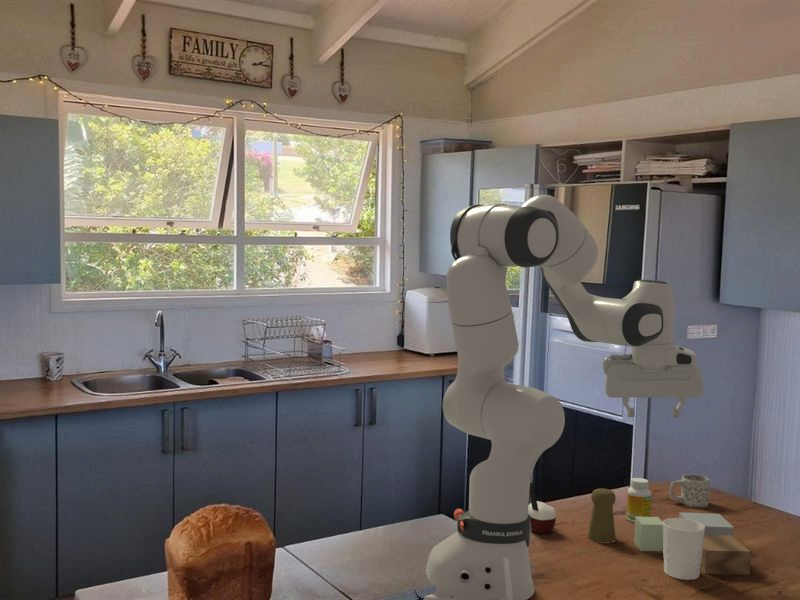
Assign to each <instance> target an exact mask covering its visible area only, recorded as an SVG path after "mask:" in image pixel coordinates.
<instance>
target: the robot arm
mask: <svg viewBox="0 0 800 600" xmlns="http://www.w3.org/2000/svg"><path fill="white" fill-rule="evenodd" d="M449 231H450V232H449V239H450V240H449V241H450V248H451V250H450V251H451V255H452V257H453V260H454V261H453V262H452V263H451V264H450V266H449V267H448V269H447V272H446V295H447V296H446V297H447V304H448V310H449V318H450V322H451V326H452V331H453V336H454V342H455V346H456V347H455V348H456V352H457V372H456V377H455V380H453V382H452V383H451V384H450V385H449V386H448V387H447V389H446V390H445V393H444V395H443V399H442V412H443V416H444V418H445V420H446V421H447V422H448V424H450V425H451V426H452V427H454V428H455V429H457V430H459V431H461V432H463V433H465V434H467V435H471V436H474V437H478V438H482V439H486V440H490V441H491V448H490V452H489V456H488V458H487V459H486V460H484V461H481V462H480V463H478V464H477V465H475V467H473V468H472V470H471V473H470V474H469V484H468V485H469V491H468V493H469V494H468V495H469V496H468V510H467V511H464V510H463V509H462V508H456V509H455V510H454V512H453V516H454V520H455V521H456V522H457V524H456V525H457V526H456V527H457V528H456V529H457V530H456V531H455V532H454V533H452V534H451V535H450V536H448V537H447V538H445V539H443V540H442V541H440V542H439V543H437V544H436V545H434V546H433V548H432V549H431V551H430V552H429V555H428V559H427V561H426V562H427V563H426V567H425V568H426V575H427V578H428V580H429V581H430V582H431V583H432V584H433V585H435V586H436V592H435V593H433V594H430V595H427V596H425V597H424V599H423V600H528V599H530V598H532V596H533V595H534V594H535V585H534V582H533V578H532V573H531V564H530V558H529V547H530V543H531V542H530V541H531V535H532V534H531V533H532V532H531V530H532V529H531V522H530V517H529V514H528V505H529V504H530V503H529V502H530V501H529V500H530V494H529V489H530V482H531V479H532V474H533V471H534V469H535V465H536V463H537V461H538V460H539V458H540V457H541V455H542V454H543V453H544V452H545V451H546V450H548V449H550V448H551V447H553V446H554V444H556V442H558V440H559V439H560V438H561V436H562V434H563V431H564V428H565V422H566V418H565V417H566V416H565V410H564V408H563V406H562V403H561V401H560V400H559V399H558V398H557V397H555V396H553V395H551V394H549V393H548V392H545V391H543V390H540V389H538V388H535V387H532V386H531V387H530V386H525V385H520V384H514V383H509V382H507V381H508V380H506V378H505V373H504V369H505V367H506V366H507V365H509V364H510V363H511V362H512V361H513V360H514V359H515V357H516V355H517V353H518V351H519V345H520V344H519V340H518V339H519V338H518V336H517V335H518V334H517V328H516V324H515V323H516V322H515V319H514V313H513V308H512V303H511V299H510V296H509V291H508V289H507V286H506V279H507V272H508V269H509V267H520V268H524V269H526V268H533V267H538V266H540V267H541V268H540V271H541V276H542V278H543V281H544V282H545V284H546V285H547V287H548V289H549V291H550V292H551V294H552V295H553V296H554V298H555V299H556V300H557V302H558V304H559V306H560V307H561V308H562V309H563V311H564V313H565V314H566V315H565V316H566V317H567V319H568V321H569V325H570V328H571V330H572V332H573V334H574V336H576V337H577V339H579V340H580V341H582V342H587V343H590V342H591V343H603V344H609V345H614V346H623V347H625V346H626V347H630V348H631V354H629V353H626V354H610V355H609V356H607V357H605V359H604V360H603V362H602V364H603V365H602V369H603V372H604V374H605V381H604V383H605V384H604V393H605V394H606V396H607V397H608V398H609V399H610V398H616V399H617V398H620V399H621V402H622V404H623V406H624V408H625V409H626V410H627V411H626V412H627V413H626V415H627V418H635V417H636V415H635V407H631V406H630V405H629V404H628V403H629V402H630V399H633V398H635V399H636V398H639V399H642V398H643V399H644V398H647V399H648V398H649V399H650V398H651V399H652V398H656V399H657V398H658V399H660V398H661V399H662V398H664V399H665V398H666V399H667V398H671V399H673V398H677V401H678V403H677V405H676V407H672V409H671V411H672V412H671V413H672V415H671V416H672V418H681V411H682V409H683V407H684V406H685V405H686V403H687V402H686V401H687V398H689V399H691V398H701V397H702V395H703V394H704V380H703V375H702V371H701V369H700V368H699V366H698V364H697V363H698V356H697V354H696V352H694V351H693V350H692V349H690V348H686V347H684V346H679V345H675V344H676V343H675V337H674V332H673V327H674V325H675V324H674V323H675V301H674V294H673V290H672V286H671V285H670V283H668V282H666V281H662V280H654V279H653V280H652V279H651V280H650V279H637V280H635V281H634V282H633V285H632V290H631V291H630V292H629V293H628V294H626V296H624V297H622V298H612V297H603V296H598V295H594V294H592V293H589V292H588V291H587V290H586V289H585V287H584V285H583V283H582V282H581V281H583V280H584V279H585V278H586V277H587V276H589V275H590V273H591V272H592V270H593V269H594V267H595V265H596V263H597V260H598V253H599V252H598V251H599V249H598V246H597V243H596V241H595V239H594V237H593V235H592V234H591V233H590V231H588V229H587V228H586V226H585V225H584V224H583V222H582V221H581V220H580V219H579V218H578V217H577V216H576V215H575V213H574V212H572V210H570V209H569V207H567V206H566V205H565V204H564V203H563V202H561V201H560V200H558V199H557V198H556V197H555V196H552V195H549V194H536V195H535V196H532V197H530V198H528V199H527V200H525V201H524V202H523V203H522V205H520V206H519V205H514V204H513V205H510V204H506V203H492V204H484V205H483V204H473V205H470V206H468V207H464V208H463V209H461V210H459V211H458V212H457V213H456V215H455V216H454V218H453V219H452V222H451V226H450V230H449Z"/></svg>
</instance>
